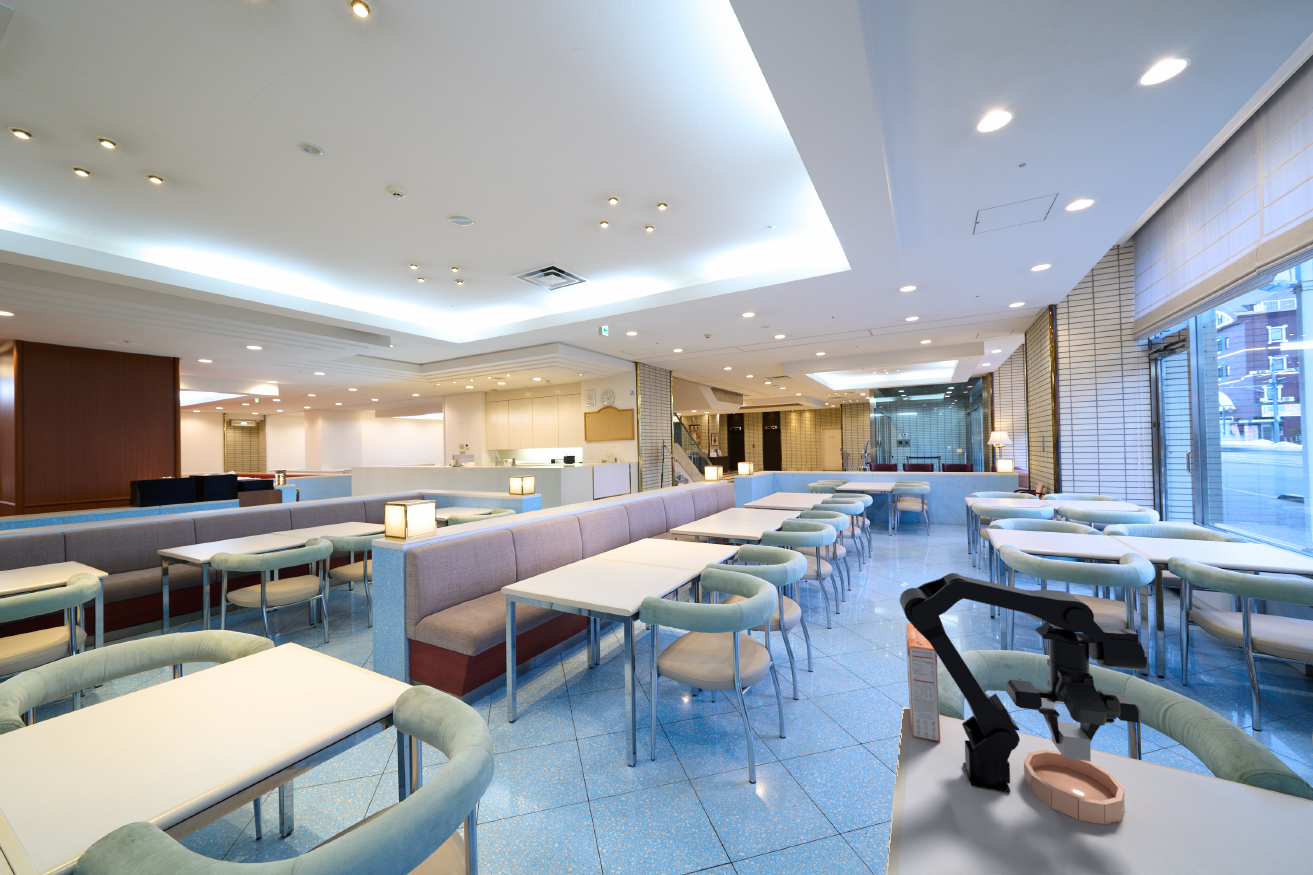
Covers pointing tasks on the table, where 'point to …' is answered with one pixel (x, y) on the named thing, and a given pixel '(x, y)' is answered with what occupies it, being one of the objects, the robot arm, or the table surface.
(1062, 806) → the bowl
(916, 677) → the cracker box
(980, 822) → the table surface
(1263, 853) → the table surface
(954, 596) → the robot arm
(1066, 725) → the grey rectangular prism
